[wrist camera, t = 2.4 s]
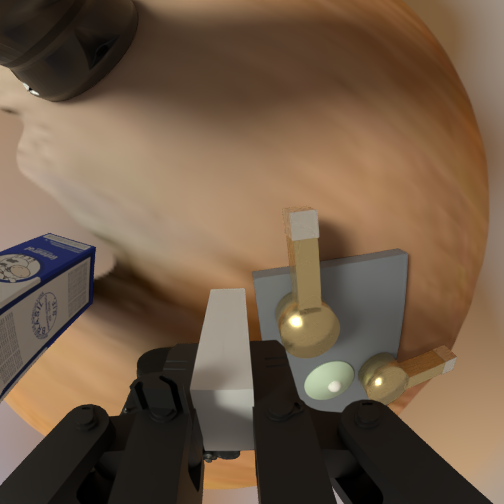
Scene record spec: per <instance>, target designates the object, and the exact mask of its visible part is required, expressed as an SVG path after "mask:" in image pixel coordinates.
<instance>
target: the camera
mask: <svg viewBox="0 0 504 504" xmlns="http://www.w3.org/2000/svg"><path fill="white" fill-rule="evenodd" d="M171 349H172V348H158V349H153V350H150V351H148V352H146V353H144V354H143V355H142V356H141V357H140V358H139V360H138V362H137V378H139V377H140V376H142V375H145V374H148V373H153V372H162V370H163V367H164V364H165V362H166V359H167V356H168V353H169V351H170V350H171ZM136 412H138V407H137V405H136V402H135V400H134V397H133V395H132V392H131V391H130V393H129V395H128V398H127V400H126V402H125V405H124V407H123V409H122V412H121V414H120V415H129V414H133V413H136ZM120 415H119V416H120ZM239 455H240V451H205V448H204V445H203V450H202V457H203V460H205V461H206V462H208V463H211V462H212V460H216V459H217V457H219V458H222V459H226V460H228V459H236V458H237V457H239Z"/></svg>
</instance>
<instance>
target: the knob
mask: <svg viewBox="0 0 504 504" xmlns="http://www.w3.org/2000/svg"><path fill="white" fill-rule="evenodd" d="M282 212H283V221H284V230H285V234H286V238H287V247H288V257H289V268H290V278H291V290H292V291H291V292H289V293H287V294H286V295H285V296H284V297H283V298H282V299H281V300H280V301H279V303H278V305H277V307H276V310H275V319H276V323H277V326H278V330H279V333H280V337H281V340H282V344H283V346H284V347H285V350H286V351H287V352H288V353H289V354H291V355H293V356H295V357H298V358H313V357H317V356H320V355H322V354H323V353H325V352H327V351H328V350H329V349H330V348H331V347H332V346H333V345H334V344H335V342H336V341H337V339H338V336H339V333H340V323H339V320H338V318H337V317H336V315H335V314H334V312H333V311H332V309H331V308H330V307H329V305H328V304H327V303H326V301H325V300H324V298H323V297H322V296H321V283H320V265H319V249H318V237H319V227H318V215H317V209H314V208H311V207H308V206H299V207H291V208H283V209H282Z"/></svg>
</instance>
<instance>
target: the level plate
mask: <svg viewBox="0 0 504 504" xmlns="http://www.w3.org/2000/svg"><path fill="white" fill-rule="evenodd" d="M407 264H408V253H406V252H404V251H402V250H400V249H393V250H387V251H381V252H375V253H369V254H363V255H357V256H351V257H345V258H339V259H333V260H326V261H320V262H319V265H320V283H321V296H322V297H323V298H324V300H325V301H326V303H327V304H328V305H329V307H330V308H331V309H332V311H333V312H334V314H335V315H336V317H337V318H338V320H339V323H340V333H339V336H338V339H337V341H336V342H335V344H334V345H333V346H332V347H331V348H330V349H329V350H328V351H327V352H325V353H323V354H322V355H320V356H317V357H313V358H298V357H295V356H293V355H291V354H289V353H288V352H287V351H286V353H287V358H288V360H289V364H290V367H291V371H292V374H293V378H294V381H295V384H296V388H297V391H298V395H299V397H300V399H301V400H303V401H304V402H305V404H306V405H308V406H309V407H311V408H314V409H317V410H321V411H329V412H342V411H343V410H344V408H345V407H346V406H347V405H349V404H350V403H352V402H354V401H358V400H362V399H368V400H370V399H369V398H368V396H367V394H366V392H365V391H364V389H363V387H362V385H361V384H360V382H359V380H358V372H359V370H360V368H361V366H362V365H363V364H364V363H365V362H366V361H367V360H368V359H369V358H371V357H372V356H374V355H376V354H379V353H389V354H391V355H392V356H393V357H394V359H395V360H396V359H397V354H398V348H399V342H400V336H401V329H402V321H403V313H404V304H405V294H406V281H407ZM252 273H253V280H254V288H255V295H256V302H257V309H258V316H259V323H260V330H261V337H262V341H264V340H277V341H279V342H280V343H281V344H282V340H281V337H280V333H279V330H278V326H277V323H276V319H275V310H276V307H277V305H278V303H279V301H280V300H281V299H282V298H283V297H284V296H285V295H286V294H287V293H289V292H291V291H292V290H291V278H290V268H289V266H288V267H281V268H274V269H267V270H261V271H254V272H252ZM282 345H283V344H282Z"/></svg>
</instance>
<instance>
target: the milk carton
mask: <svg viewBox="0 0 504 504" xmlns="http://www.w3.org/2000/svg"><path fill="white" fill-rule="evenodd" d="M95 251H96V247H94V246H91V245H87V244H84V243H80V242H77V241H74V240H70V239H67V238H64V237H61V236H57V235H54V234H51V233H48V234H45V235H42V236H40V237H37V238H34V239H32V240H29V241H27V242H24V243H21V244H19V245H16V246H14V247H11V248H9V249H6V250H4V251H1V252H0V403H1V401H3V399H4V398H5V397H6V396H7V394H8V393H9V392H10V391H11V390H12V388H13V387H14V386H15V385H16V384H17V383H18V381H19V380H20V379H21V378H22V377H23V376H24V374H25V373H26V372H27V371H28V370H29V369H30V368H31V366H32V365H33V364H34V363H35V362H36V361H37V360H38V359H39V358H40V357H41V355H42V354H43V353H44V352H45V351H46V350H47V349H48V348H49V347H50V346H51V345H52V344H53V343H54V342H55V341H56V339H57V338H58V337H59V336H60V335H61V334H62V333H63V332H64V331H65V330H66V329H67V328H68V327H69V326H70V325H71V324H72V323H73V322H74V321H75V320H76V319H77V318H78V317H79V316H80V315H81V314H82V313H83V312H84V311H85V310H86V309H87V308H88V307H89V306H90V305H91V304H93V278H94V263H95Z"/></svg>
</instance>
